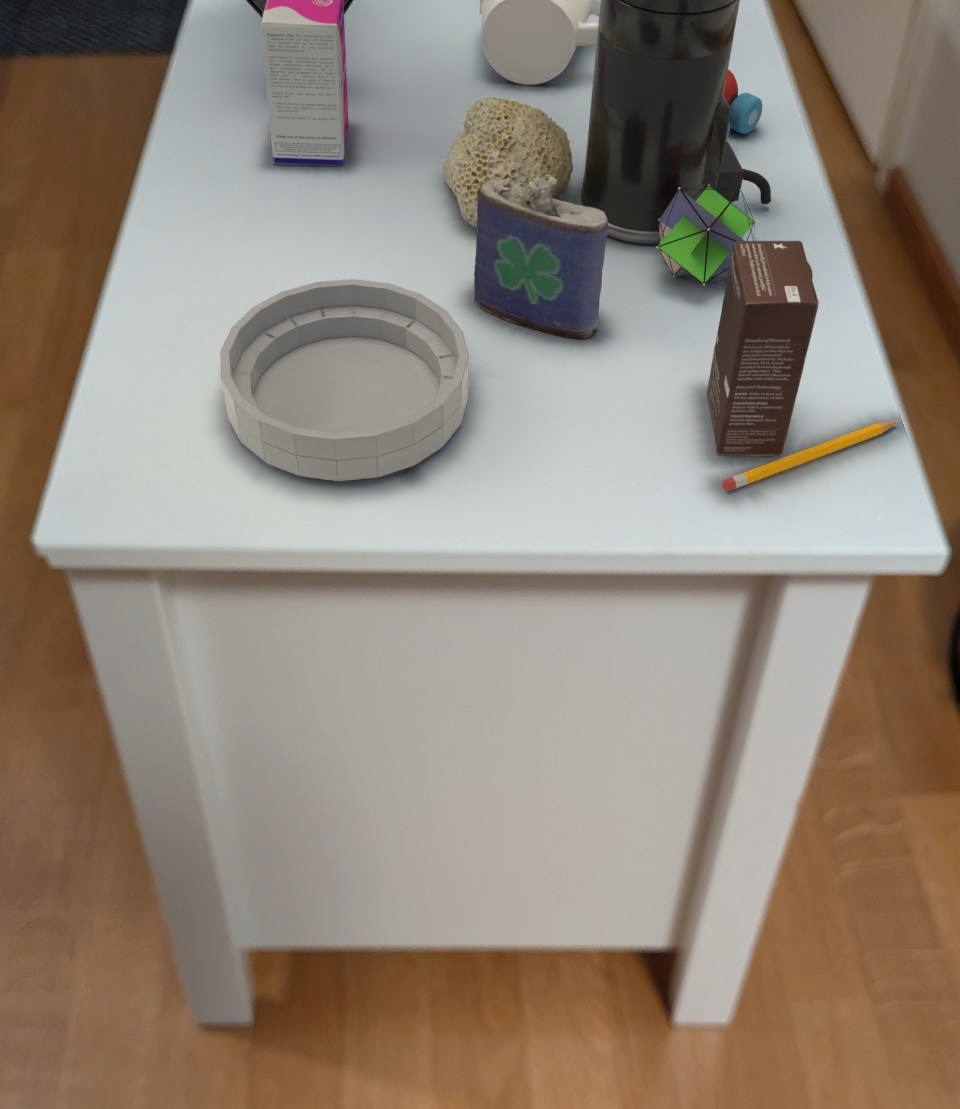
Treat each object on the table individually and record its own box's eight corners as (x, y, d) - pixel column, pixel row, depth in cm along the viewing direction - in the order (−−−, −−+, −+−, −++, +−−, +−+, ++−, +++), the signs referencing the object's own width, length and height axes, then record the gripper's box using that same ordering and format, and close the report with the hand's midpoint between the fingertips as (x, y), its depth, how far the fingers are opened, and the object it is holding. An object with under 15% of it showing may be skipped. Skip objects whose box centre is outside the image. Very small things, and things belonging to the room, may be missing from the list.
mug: (470, 81, 108) (472, -12, 102) (483, 30, 114) (485, -59, 108) (609, 92, 108) (619, 0, 102) (614, 40, 114) (624, -49, 108)
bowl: (449, 319, 86) (449, 271, 83) (483, 473, 76) (484, 425, 73) (226, 337, 85) (218, 288, 82) (231, 497, 75) (222, 449, 72)
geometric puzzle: (687, 170, 82) (620, 262, 87) (769, 236, 82) (697, 323, 87) (715, 145, 88) (650, 232, 93) (791, 206, 88) (722, 290, 93)
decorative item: (618, 184, 90) (498, 147, 86) (558, 273, 96) (443, 242, 92) (578, 83, 97) (465, 43, 92) (525, 172, 103) (416, 138, 98)
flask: (602, 323, 86) (617, 186, 78) (585, 347, 85) (598, 210, 77) (483, 284, 89) (486, 148, 81) (464, 307, 87) (465, 170, 79)
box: (700, 394, 82) (731, 237, 73) (769, 395, 82) (809, 238, 73) (710, 458, 78) (745, 300, 69) (783, 460, 78) (827, 302, 69)
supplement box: (346, 167, 99) (337, 25, 90) (271, 165, 99) (255, 23, 90) (352, 128, 103) (343, -12, 94) (280, 127, 103) (264, -13, 94)
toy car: (765, 125, 104) (789, 7, 97) (700, 165, 100) (720, 44, 93) (679, 85, 109) (696, -31, 101) (613, 121, 104) (625, 3, 97)
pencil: (726, 478, 75) (730, 488, 75) (901, 413, 80) (906, 423, 79) (720, 482, 76) (725, 492, 76) (894, 418, 80) (899, 427, 80)
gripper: (197, -173, 94) (220, 63, 95) (373, -178, 96) (393, 54, 97) (207, -126, 102) (228, 93, 103) (370, -131, 103) (389, 84, 104)
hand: (308, 74), depth 100 cm, fingers closed
